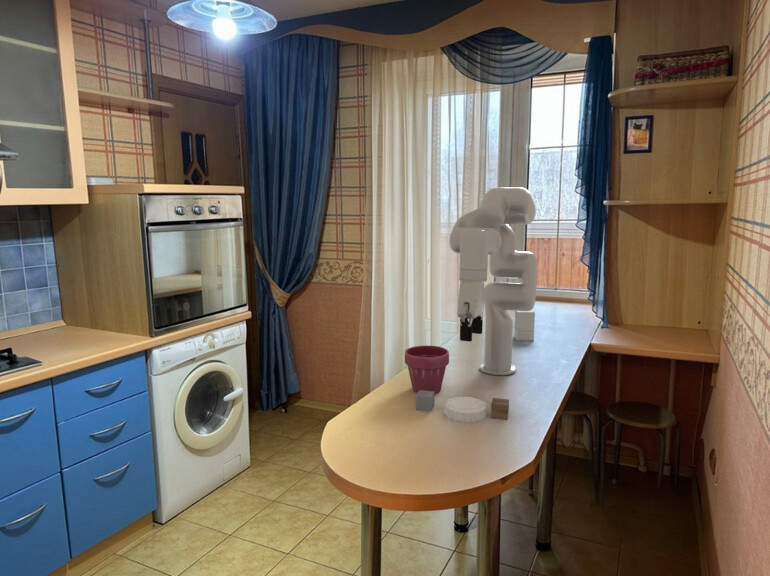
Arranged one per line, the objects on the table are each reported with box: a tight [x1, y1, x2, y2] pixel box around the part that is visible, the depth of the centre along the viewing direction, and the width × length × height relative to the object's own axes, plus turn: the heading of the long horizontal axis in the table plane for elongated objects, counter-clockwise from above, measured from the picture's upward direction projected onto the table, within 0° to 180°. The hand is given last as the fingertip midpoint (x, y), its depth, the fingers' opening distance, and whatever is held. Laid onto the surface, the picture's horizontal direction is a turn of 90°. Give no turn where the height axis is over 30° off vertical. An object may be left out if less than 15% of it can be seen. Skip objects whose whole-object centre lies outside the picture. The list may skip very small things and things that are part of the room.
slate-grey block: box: [415, 390, 436, 412], centre depth 160 cm, size 4×4×4 cm
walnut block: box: [490, 397, 510, 421], centre depth 153 cm, size 4×4×4 cm
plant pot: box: [404, 345, 450, 394], centre depth 174 cm, size 14×14×13 cm
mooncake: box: [443, 396, 488, 423], centre depth 155 cm, size 12×12×4 cm
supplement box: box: [513, 309, 536, 342], centre depth 235 cm, size 7×7×13 cm
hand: (471, 336), depth 150 cm, fingers open, 9 cm apart
